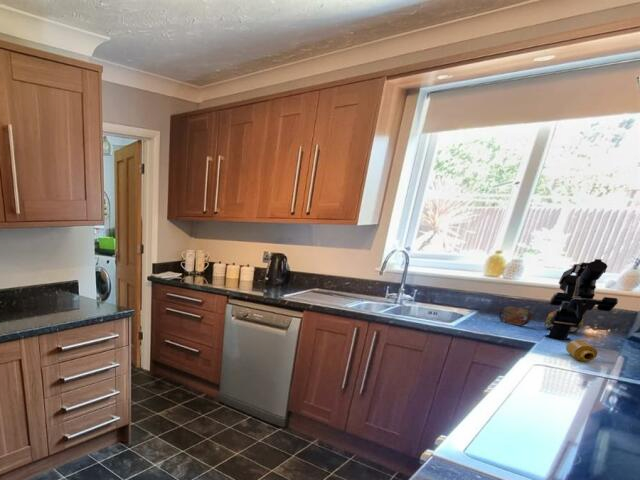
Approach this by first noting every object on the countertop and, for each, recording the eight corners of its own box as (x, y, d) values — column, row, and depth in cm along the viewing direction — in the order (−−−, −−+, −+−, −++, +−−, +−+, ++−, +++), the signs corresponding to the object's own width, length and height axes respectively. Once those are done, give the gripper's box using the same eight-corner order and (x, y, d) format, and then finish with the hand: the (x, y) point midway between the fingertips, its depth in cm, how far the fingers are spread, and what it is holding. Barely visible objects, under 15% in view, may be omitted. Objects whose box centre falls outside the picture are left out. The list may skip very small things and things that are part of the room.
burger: (565, 328, 215) (573, 308, 211) (587, 335, 202) (596, 314, 199) (535, 326, 217) (543, 306, 213) (555, 332, 204) (564, 312, 201)
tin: (496, 320, 227) (502, 304, 224) (501, 320, 227) (507, 304, 224) (523, 327, 213) (530, 310, 210) (529, 327, 213) (535, 310, 210)
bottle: (581, 336, 166) (594, 345, 154) (591, 349, 165) (605, 358, 154) (562, 345, 170) (573, 354, 158) (571, 357, 169) (583, 367, 157)
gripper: (606, 302, 179) (601, 332, 175) (547, 296, 189) (541, 325, 185) (620, 285, 170) (616, 317, 166) (558, 280, 180) (552, 309, 176)
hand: (579, 317), depth 173 cm, fingers closed
